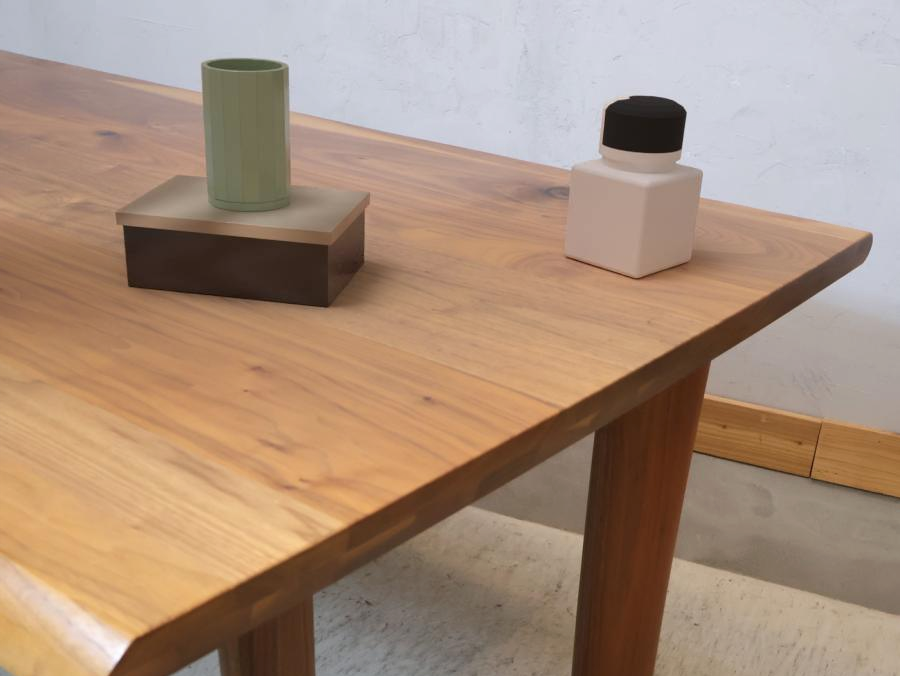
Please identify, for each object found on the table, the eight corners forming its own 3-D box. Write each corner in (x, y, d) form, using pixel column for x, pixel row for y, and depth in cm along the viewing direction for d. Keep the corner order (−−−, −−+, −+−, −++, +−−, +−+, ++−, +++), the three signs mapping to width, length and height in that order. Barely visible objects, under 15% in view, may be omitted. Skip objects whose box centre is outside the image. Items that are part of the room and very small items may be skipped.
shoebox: (121, 287, 78) (114, 211, 75) (181, 243, 87) (177, 174, 85) (331, 309, 76) (331, 232, 73) (369, 261, 85) (370, 191, 83)
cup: (195, 207, 77) (187, 67, 73) (224, 187, 82) (219, 55, 78) (276, 215, 76) (272, 74, 72) (300, 194, 81) (298, 61, 77)
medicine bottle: (692, 262, 88) (715, 102, 83) (636, 280, 84) (657, 112, 78) (618, 240, 93) (635, 86, 87) (561, 256, 88) (576, 95, 83)
